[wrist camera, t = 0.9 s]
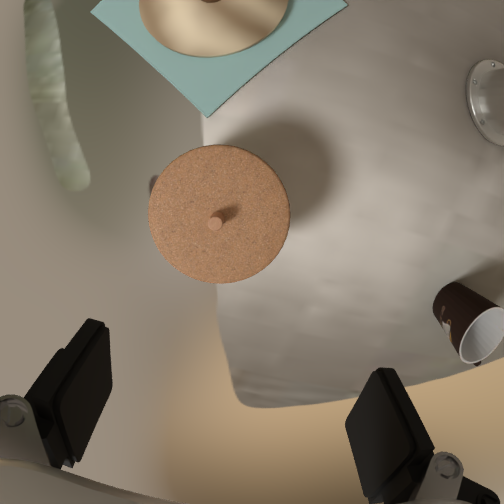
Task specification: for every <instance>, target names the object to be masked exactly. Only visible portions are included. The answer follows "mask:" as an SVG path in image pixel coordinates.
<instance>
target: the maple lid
mask: <svg viewBox="0 0 504 504" xmlns="http://www.w3.org/2000/svg"><path fill="white" fill-rule="evenodd" d="M288 1H289V0H139V11H140V16H141V19H142V22H143V24H144V26H145V28H146V29H147V30H148V32H149V33H150V34H151V35H152V36H153V37H154V38H155V39H156V40H157V41H158V42H159V43H161V44H162V45H163V46H165V47H166V48H168V49H170V50H172V51H174V52H177V53H180V54H183V55H187V56H192V57H199V58H213V57H222V56H228V55H232V54H235V53H239V52H241V51H244V50H246V49H249V48H251V47H252V46H254V45H256V44H258V43H259V42H261V41H262V40H264V39H265V38H266V37H267V36H269V35H270V34H271V33H272V32H273V31H274V30H275V28H276V27H277V26H278V25H279V23H280V22H281V20H282V18H283V16H284V14H285V12H286V8H287V5H288Z"/></svg>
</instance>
